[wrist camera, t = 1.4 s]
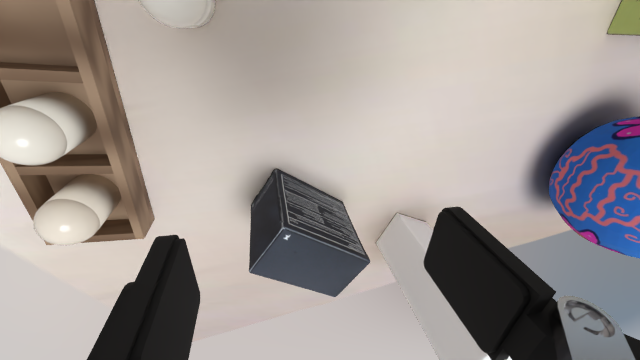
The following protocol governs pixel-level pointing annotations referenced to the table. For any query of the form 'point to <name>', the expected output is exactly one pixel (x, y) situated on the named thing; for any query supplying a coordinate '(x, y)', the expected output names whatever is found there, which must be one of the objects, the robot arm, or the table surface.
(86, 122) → the egg middle
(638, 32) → the protein box
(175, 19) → the white rounded cylinder
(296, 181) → the small box
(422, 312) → the milk
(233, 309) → the table surface
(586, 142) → the ceramic pot
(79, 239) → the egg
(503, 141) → the table surface
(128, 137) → the crate
